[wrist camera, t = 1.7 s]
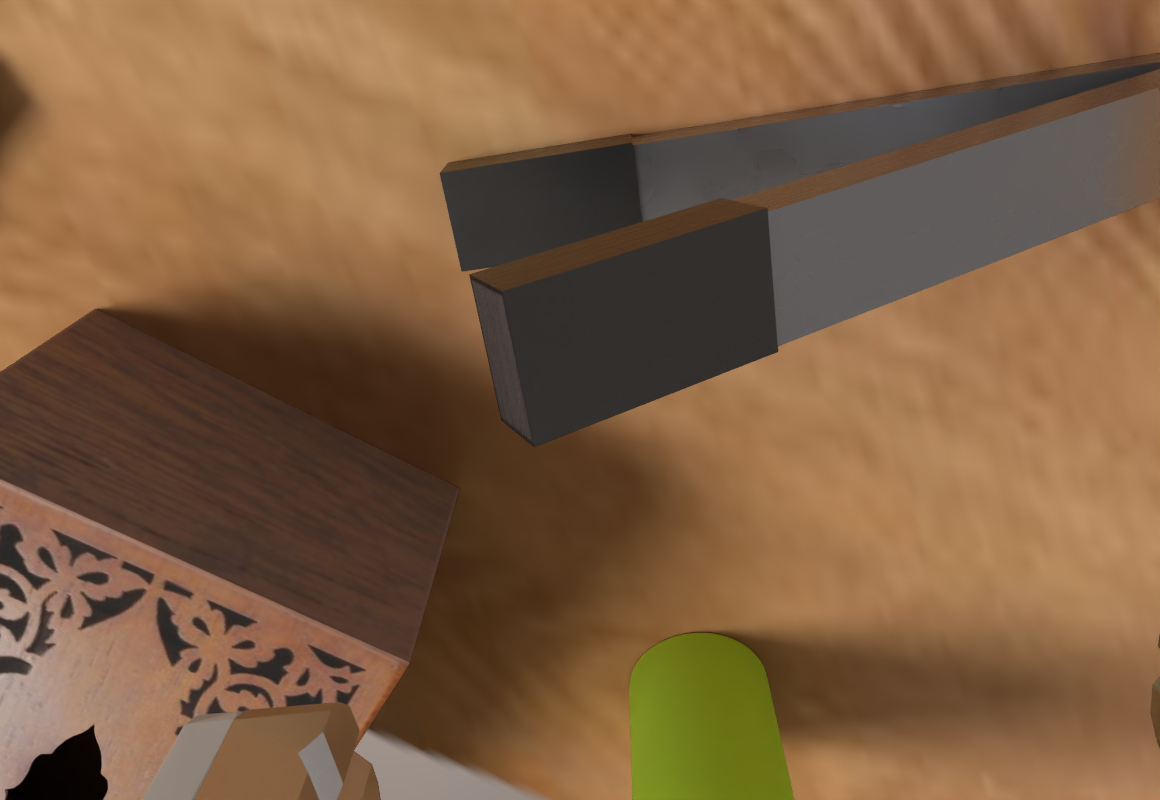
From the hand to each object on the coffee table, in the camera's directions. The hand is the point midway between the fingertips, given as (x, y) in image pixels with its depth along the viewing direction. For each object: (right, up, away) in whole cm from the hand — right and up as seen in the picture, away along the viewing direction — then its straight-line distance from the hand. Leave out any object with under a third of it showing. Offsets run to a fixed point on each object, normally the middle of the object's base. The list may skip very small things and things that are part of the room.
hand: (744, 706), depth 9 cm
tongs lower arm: (+8, +11, +20) cm, 25 cm away
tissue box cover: (-19, -7, +30) cm, 36 cm away
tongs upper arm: (+6, +8, +14) cm, 17 cm away
